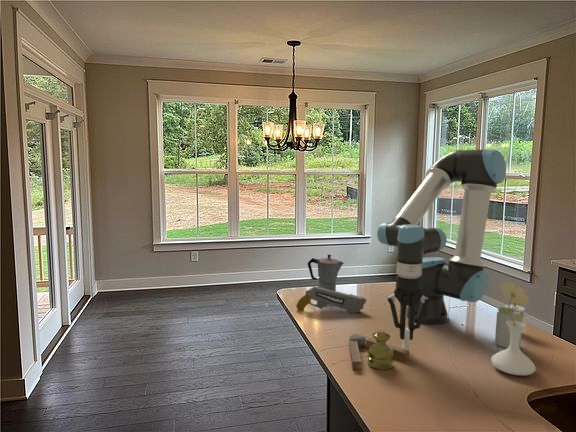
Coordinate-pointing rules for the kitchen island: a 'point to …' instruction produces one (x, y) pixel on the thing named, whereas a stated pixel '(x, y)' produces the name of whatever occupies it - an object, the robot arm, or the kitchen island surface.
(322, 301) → the gun
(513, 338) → the flower in vase
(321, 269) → the moka pot
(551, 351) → the kitchen island surface
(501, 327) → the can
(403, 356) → the long rectangular block
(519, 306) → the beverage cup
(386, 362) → the yellow-green tapered rounded piece
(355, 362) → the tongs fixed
